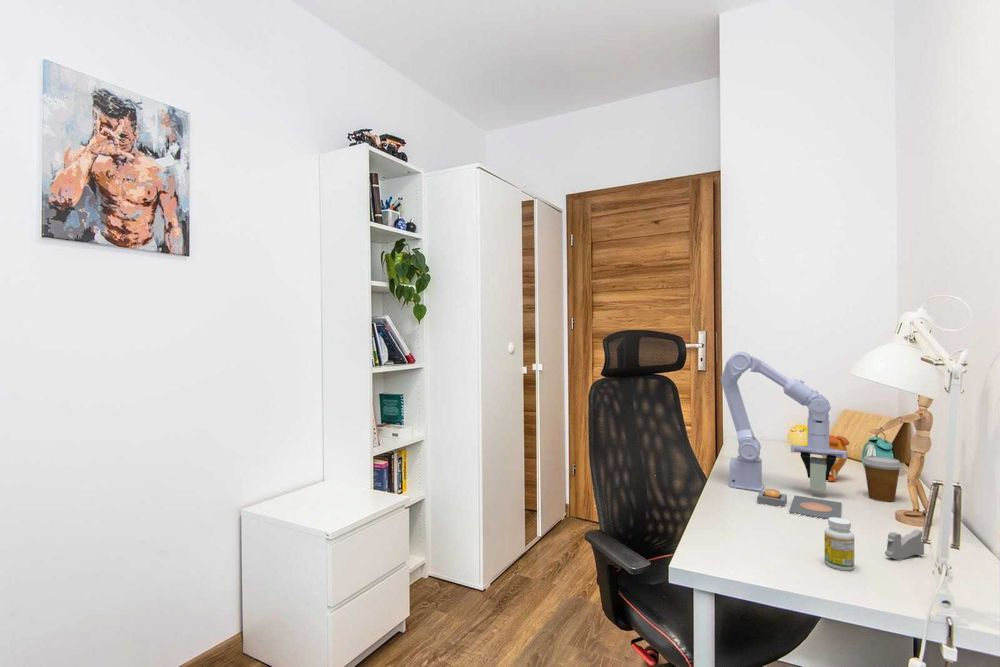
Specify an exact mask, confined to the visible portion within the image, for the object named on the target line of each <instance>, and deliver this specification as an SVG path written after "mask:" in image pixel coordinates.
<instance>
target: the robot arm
mask: <svg viewBox="0 0 1000 667" xmlns="http://www.w3.org/2000/svg"><path fill="white" fill-rule="evenodd" d="M749 369H750V370H749ZM748 370H749V372H751V373H760V374H761V375H763V376H764V377H766V378H767V379H769V380H771V381H772V382H774V383H775V384H778V386H780V387H782V389H783V393H784V394H785V395H786V396H787V397H789V398H791V399H792V400H794V401H795V402H797V403H798V404H800V405H801V406H803V407H804V406H805V407H806V408H807V409H808V416H807V437H806V438H807V439H806V440H807V445H796V444H795V445H794V444H791V446H790V453H798V454H800V458H801V461H802V462H803V465H804V467H805V470H806V473H807V479H810V458H811V455H815V456H817V455H818V456H822V455H823V456H827V457H826V481H827V480H828V478H829V474H830V475H831V472H830V471H831V468H832V466H833V464H834V463H835V461H836V457H841V458H845V459H847V458H848V450H847V451H841V450H835V449H829V435H830V419H829V418H830V414H829V412H830V411H831V407H832V406H831V405H830V404H831V403H830V401H829V400H828V399H827V398H826V397H825V396H824V394H820V392H819V391H818V390H814V389H812V388H810V387H809V386H808V385H807V384H805V381H803V379H800V380H798V379H797V378H794V379H793V378H792V379H790V378H788V377H787V376H785V375H783V374H782V373H781V372H779V371H778V370H776V369H775V368H774V367H772V366H770V365H769V364H768V363H766V362H765V361H764V360H761V359H759V358H757V357H756V356H753V355H752V356H751V355H750V354H749V353H747V352H746V351H738V352H735V353H733V354H732V355H731V356H730V358H728V360H727V361H726V363H725V367H724V368H723V372H722V375H721V377H720V382H721V385H722V388H723V389H722V390H723V392H724V393H723V394H724V396H725V399H726V402H727V405H728V408H729V413H730V416H731V419H732V421H733V425H734V428H735V432H736V437H737V441H738V447H737V452H738V455H737V457H731V458H730V460H729V485H728V486H729V487H731V488H737V489H744V490H748V491H754V492H755V491H756V492H760V491H763V489H764V488H765V487H766V486H765V484H763V474H762V473H763V472H762V471H763V466H762V465H763V462H762V460H763V459H762V458H761V457H760V455H761V448H762V446H761V443H760V441H759V440H758V439H757V438H756V437H755V434H754V432H753V429H752V427H751V423H750V420H749V416H748V413H747V411H746V408H745V407H746V406H745V404H744V401H743V397H742V394H741V391H740V387H739V385H738V381H739V380H740V378H741V376H742V375H743V374H744V373H745V372H747V371H748ZM823 453H825V454H823Z"/></svg>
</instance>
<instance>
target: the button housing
mask: <svg viewBox="0 0 1000 667" xmlns="http://www.w3.org/2000/svg"><path fill="white" fill-rule="evenodd" d="M756 501H757V504H759V503H761V504H760V505H765V504H767V505H766V506H771V505H774V506H773V507H777V506H781V507H780V508H783V507H786V505H787V501H788V495H787V494H786V493H780V499H777V498H771V497H765V490H762V491H759V492H758V495H757V500H756ZM785 504H786V505H785Z"/></svg>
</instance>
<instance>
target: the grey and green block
mask: <svg viewBox="0 0 1000 667" xmlns="http://www.w3.org/2000/svg"><path fill="white" fill-rule="evenodd" d="M809 489H813V490H819V491H825V492H826V490H827V480H826V458H823V457H816V456H810V478H809Z"/></svg>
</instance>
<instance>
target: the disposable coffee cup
mask: <svg viewBox="0 0 1000 667" xmlns="http://www.w3.org/2000/svg"><path fill="white" fill-rule="evenodd" d="M862 463H863V466H864V472H865V478H866V479H865V480H866V485H867V491H868V492H867V493H868V498H869V499H872V500H876V501H879V502H886V503H892V502H895V501H896V494H897V487H898V482H899V477H900V476H899V474H900V469H901V468H902V464H901V462H900V460H899V459H896V458H892V457H886V456H879V455H878V456H877V455H866V456H864V457H863V460H862Z"/></svg>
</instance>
